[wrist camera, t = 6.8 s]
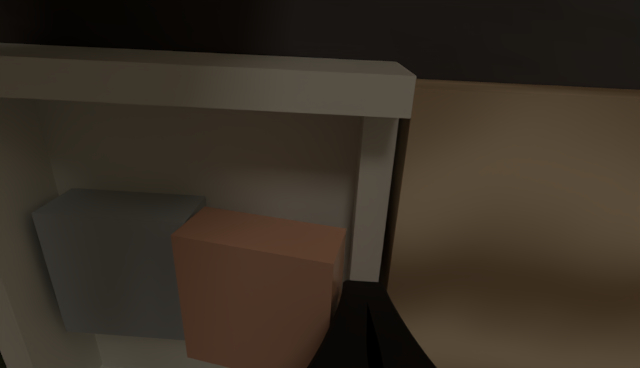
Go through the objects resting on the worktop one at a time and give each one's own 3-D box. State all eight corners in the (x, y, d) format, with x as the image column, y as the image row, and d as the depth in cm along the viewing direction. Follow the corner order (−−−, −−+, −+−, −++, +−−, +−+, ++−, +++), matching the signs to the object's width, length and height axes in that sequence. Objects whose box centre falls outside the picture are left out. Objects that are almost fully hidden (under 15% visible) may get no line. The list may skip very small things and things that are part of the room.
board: (672, 408, 17) (711, 454, 15) (365, 384, 18) (368, 426, 16) (857, 100, 12) (954, 115, 10) (404, 78, 12) (414, 88, 10)
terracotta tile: (337, 345, 14) (325, 391, 12) (214, 317, 15) (187, 357, 13) (346, 228, 12) (333, 263, 10) (204, 206, 13) (170, 235, 11)
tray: (358, 391, 18) (362, 472, 15) (91, 370, 18) (38, 444, 15) (396, 61, 12) (416, 76, 9) (0, 42, 12) (-120, 49, 9)
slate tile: (215, 304, 16) (198, 341, 14) (98, 296, 16) (66, 331, 14) (205, 196, 14) (184, 222, 12) (72, 188, 14) (31, 213, 12)
